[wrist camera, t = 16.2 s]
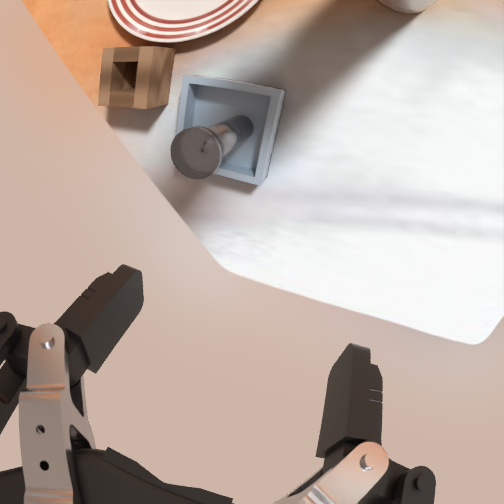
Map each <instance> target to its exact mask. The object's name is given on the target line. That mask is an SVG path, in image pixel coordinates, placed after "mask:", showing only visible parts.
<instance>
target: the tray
mask: <svg viewBox="0 0 504 504" xmlns="http://www.w3.org/2000/svg"><path fill="white" fill-rule="evenodd" d="M285 92H286V90H283V89H278V88H274V87H269V86H264V85H259V84H253V83H248V82H242V81H235V80H229V79H222V78H215V77H206V76H198V75H189V76H183V82H182V89H181V96H180V104H179V112H178V121H177V130H176V135H177V134H178V133H179V132H181V131H183V130H185V129H187V128H190V127H193V126H202V127H206V128H207V127H210V126H212V125H215V124H217V123H220V122H222V121H225V120H227V119H230V118H232V117H235V116H238V115H243V116H246V117H248V118H249V119H250V120H251V121H252V123H253V128H254V129H253V133H252V135H251V136H250V137H249V138H248V139H246V140H245V141H243V142H242V143H241V144H239V145H238V146H236V147H235V148H233V149H232V150H231V151H229V152H228V153H227V154H225V155H224V156H223V159H222V162H221V164H220V166H219V167H218V168H217V169H216V170H215V171H214V172H213V173H212V174H216V175H220V176H224V177H228V178H232V179H236V180H240V181H244V182H248V183H251V184H255V185H259V186H261V185H262V183H263V182H264V180H265V179H266V177H267V174H268V169H269V165H270V160H271V156H272V151H273V147H274V142H275V137H276V133H277V128H278V124H279V119H280V115H281V110H282V106H283V101H284V97H285ZM173 165H174V163H173Z"/></svg>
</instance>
